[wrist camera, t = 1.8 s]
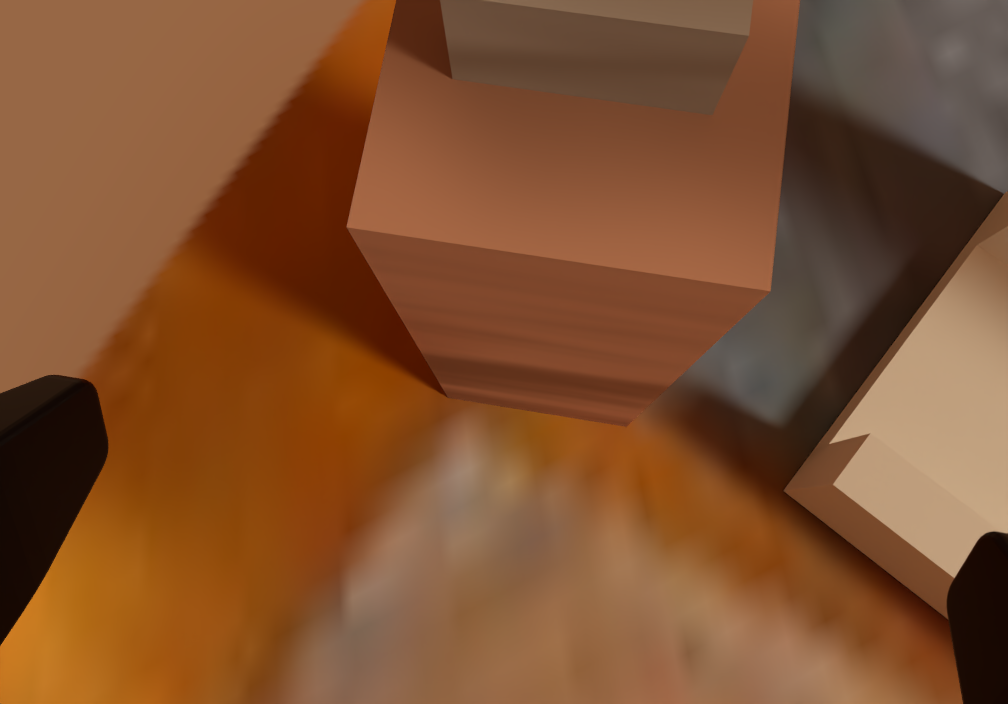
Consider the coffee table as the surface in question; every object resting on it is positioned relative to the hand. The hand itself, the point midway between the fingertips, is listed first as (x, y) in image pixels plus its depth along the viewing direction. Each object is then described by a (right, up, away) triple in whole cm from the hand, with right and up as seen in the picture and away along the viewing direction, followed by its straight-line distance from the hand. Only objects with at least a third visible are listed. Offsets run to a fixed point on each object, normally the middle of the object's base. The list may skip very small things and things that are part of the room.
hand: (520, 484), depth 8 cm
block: (+1, +2, +14) cm, 15 cm away
